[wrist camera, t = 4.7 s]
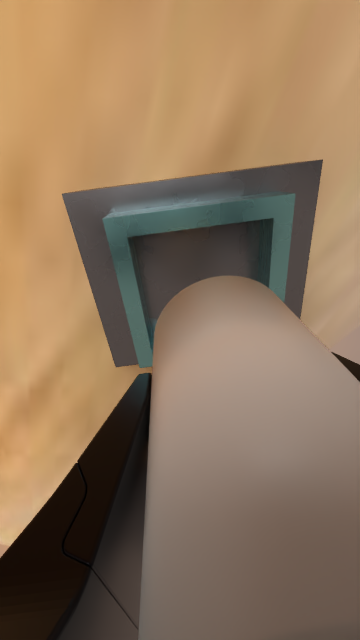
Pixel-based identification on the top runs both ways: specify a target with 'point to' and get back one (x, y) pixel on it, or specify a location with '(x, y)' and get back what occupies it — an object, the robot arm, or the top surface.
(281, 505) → the grey rounded block
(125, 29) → the top surface
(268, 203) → the teal-collared square flange
